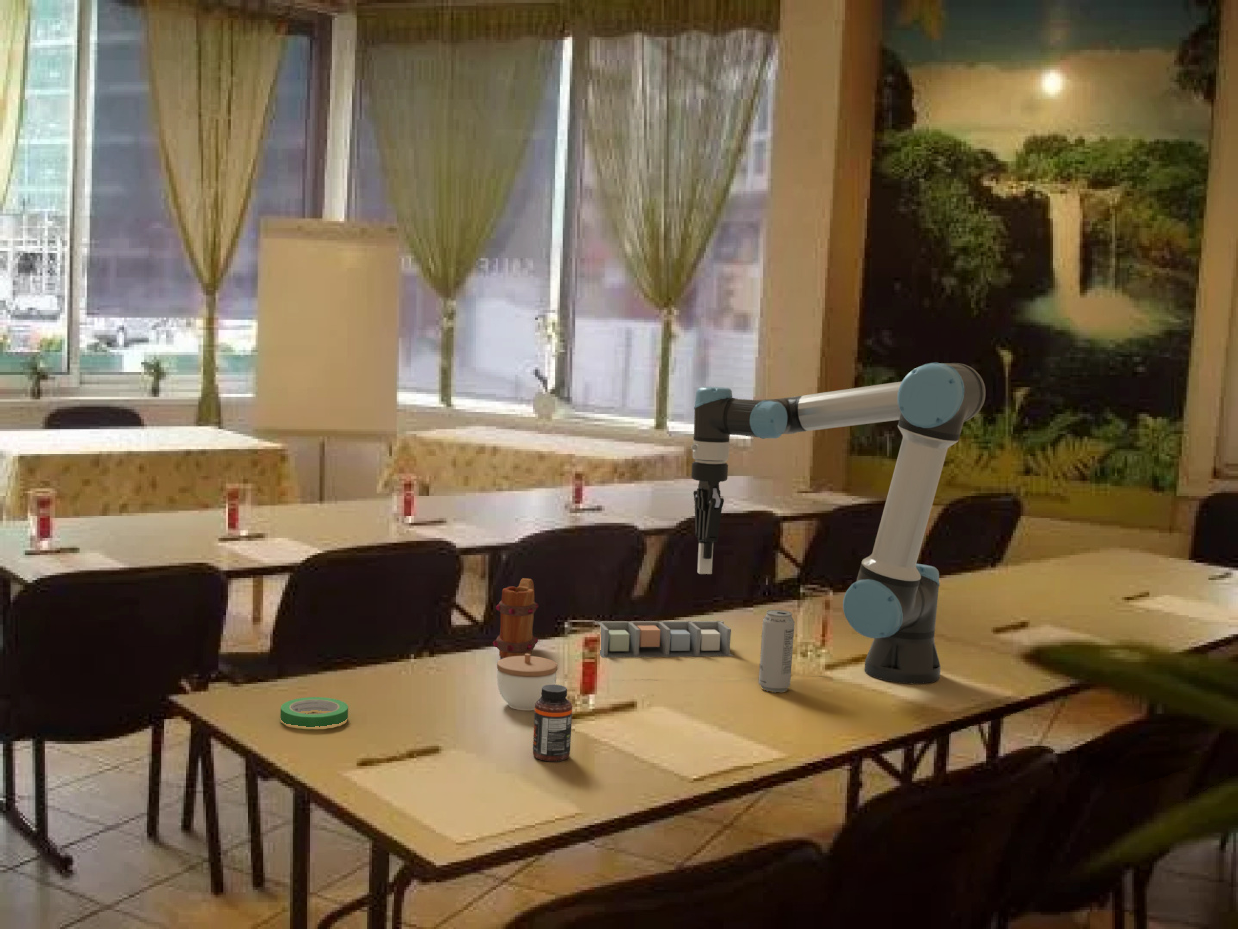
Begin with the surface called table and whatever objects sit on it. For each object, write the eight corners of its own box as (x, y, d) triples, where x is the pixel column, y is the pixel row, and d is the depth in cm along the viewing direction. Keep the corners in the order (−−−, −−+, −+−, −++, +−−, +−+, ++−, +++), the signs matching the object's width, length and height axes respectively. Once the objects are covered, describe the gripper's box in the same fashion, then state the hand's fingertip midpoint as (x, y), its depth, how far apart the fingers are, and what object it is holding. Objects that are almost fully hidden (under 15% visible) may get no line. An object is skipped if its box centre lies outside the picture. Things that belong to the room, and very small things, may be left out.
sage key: (628, 651, 291) (629, 634, 291) (609, 651, 290) (610, 634, 290) (623, 646, 295) (624, 629, 295) (605, 646, 294) (605, 629, 294)
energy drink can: (764, 683, 278) (769, 607, 276) (794, 688, 275) (799, 612, 274) (753, 690, 273) (758, 613, 271) (783, 695, 270) (789, 617, 268)
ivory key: (719, 650, 296) (720, 633, 296) (701, 650, 295) (702, 634, 295) (713, 645, 300) (714, 629, 300) (695, 645, 299) (696, 629, 299)
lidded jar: (509, 717, 247) (511, 664, 246) (485, 700, 256) (488, 649, 255) (565, 711, 252) (568, 659, 251) (540, 695, 261) (542, 645, 260)
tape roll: (317, 736, 231) (317, 720, 231) (266, 723, 237) (266, 707, 236) (361, 720, 241) (361, 705, 241) (311, 708, 246) (311, 693, 246)
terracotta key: (659, 646, 293) (660, 630, 292) (640, 646, 292) (641, 630, 291) (654, 642, 297) (655, 625, 296) (635, 642, 296) (636, 625, 295)
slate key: (689, 650, 294) (690, 634, 294) (670, 650, 294) (671, 634, 293) (683, 645, 298) (684, 629, 298) (665, 646, 297) (666, 629, 297)
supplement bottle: (531, 750, 229) (535, 681, 228) (568, 751, 230) (572, 682, 229) (532, 762, 223) (536, 692, 222) (570, 763, 224) (574, 693, 223)
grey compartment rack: (733, 660, 294) (735, 630, 293) (601, 662, 287) (603, 631, 286) (718, 648, 304) (720, 619, 303) (590, 649, 297) (592, 620, 296)
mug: (528, 666, 281) (531, 591, 279) (488, 661, 282) (491, 587, 281) (546, 649, 295) (550, 577, 293) (508, 645, 297) (512, 574, 295)
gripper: (683, 457, 302) (678, 567, 304) (702, 464, 289) (697, 579, 292) (717, 458, 303) (711, 567, 306) (737, 465, 291) (731, 579, 294)
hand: (704, 573), depth 299 cm, fingers closed
